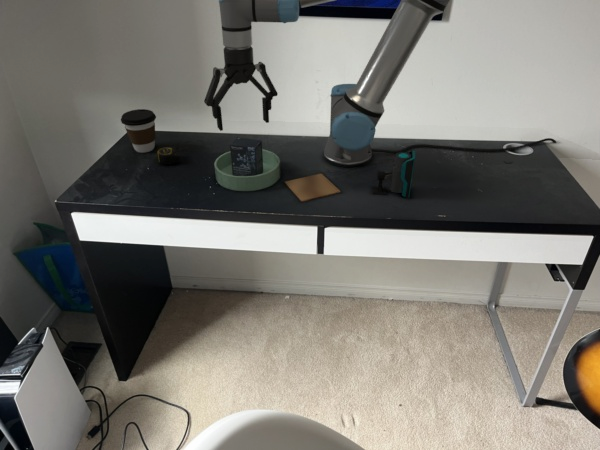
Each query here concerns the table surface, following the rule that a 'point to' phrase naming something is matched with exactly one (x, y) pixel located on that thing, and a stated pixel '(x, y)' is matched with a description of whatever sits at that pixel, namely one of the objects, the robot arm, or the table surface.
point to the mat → (312, 187)
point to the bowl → (247, 182)
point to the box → (246, 157)
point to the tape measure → (168, 155)
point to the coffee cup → (140, 129)
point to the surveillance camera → (398, 175)
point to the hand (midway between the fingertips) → (243, 125)
